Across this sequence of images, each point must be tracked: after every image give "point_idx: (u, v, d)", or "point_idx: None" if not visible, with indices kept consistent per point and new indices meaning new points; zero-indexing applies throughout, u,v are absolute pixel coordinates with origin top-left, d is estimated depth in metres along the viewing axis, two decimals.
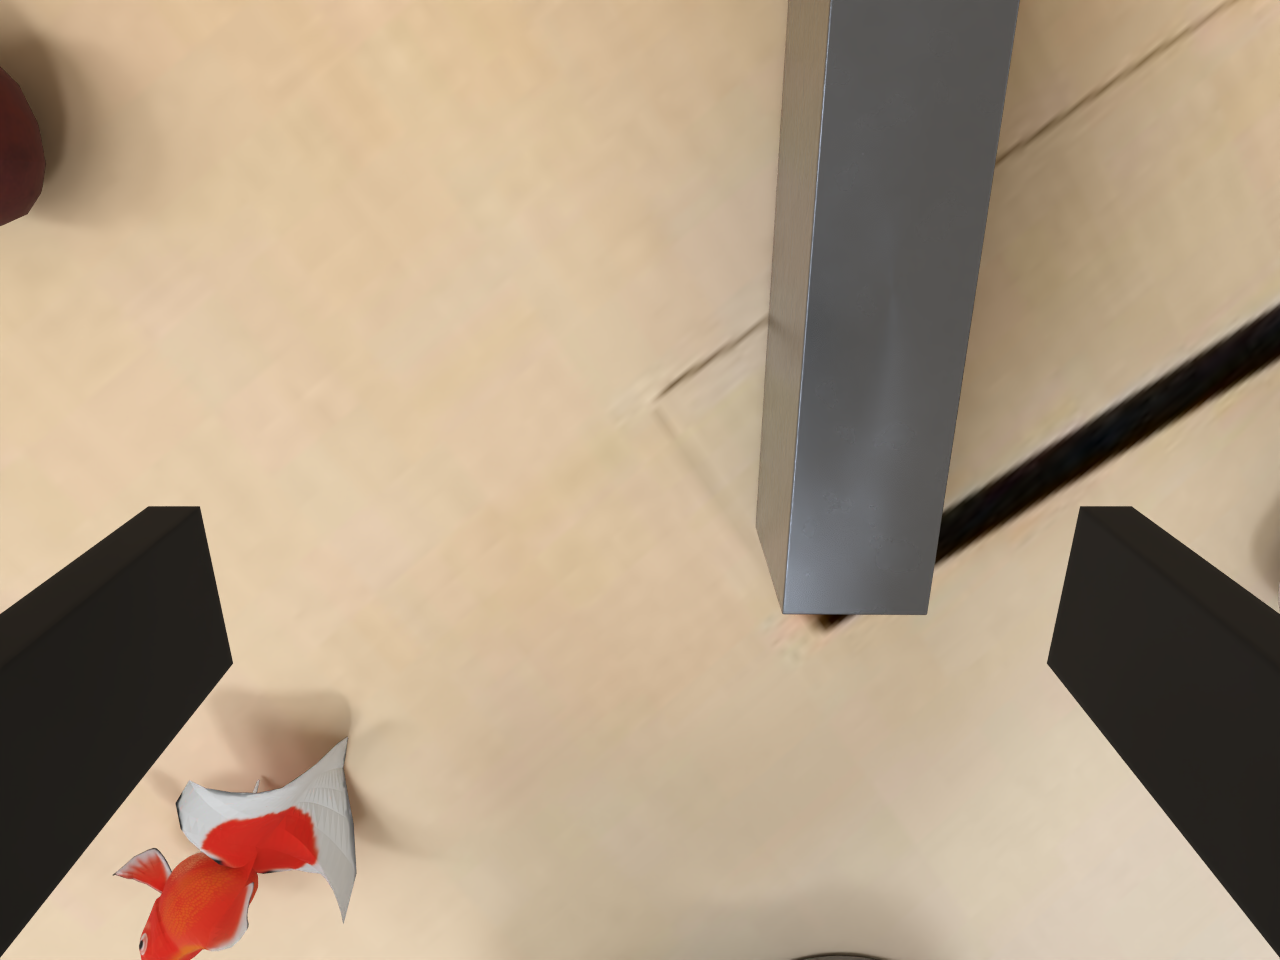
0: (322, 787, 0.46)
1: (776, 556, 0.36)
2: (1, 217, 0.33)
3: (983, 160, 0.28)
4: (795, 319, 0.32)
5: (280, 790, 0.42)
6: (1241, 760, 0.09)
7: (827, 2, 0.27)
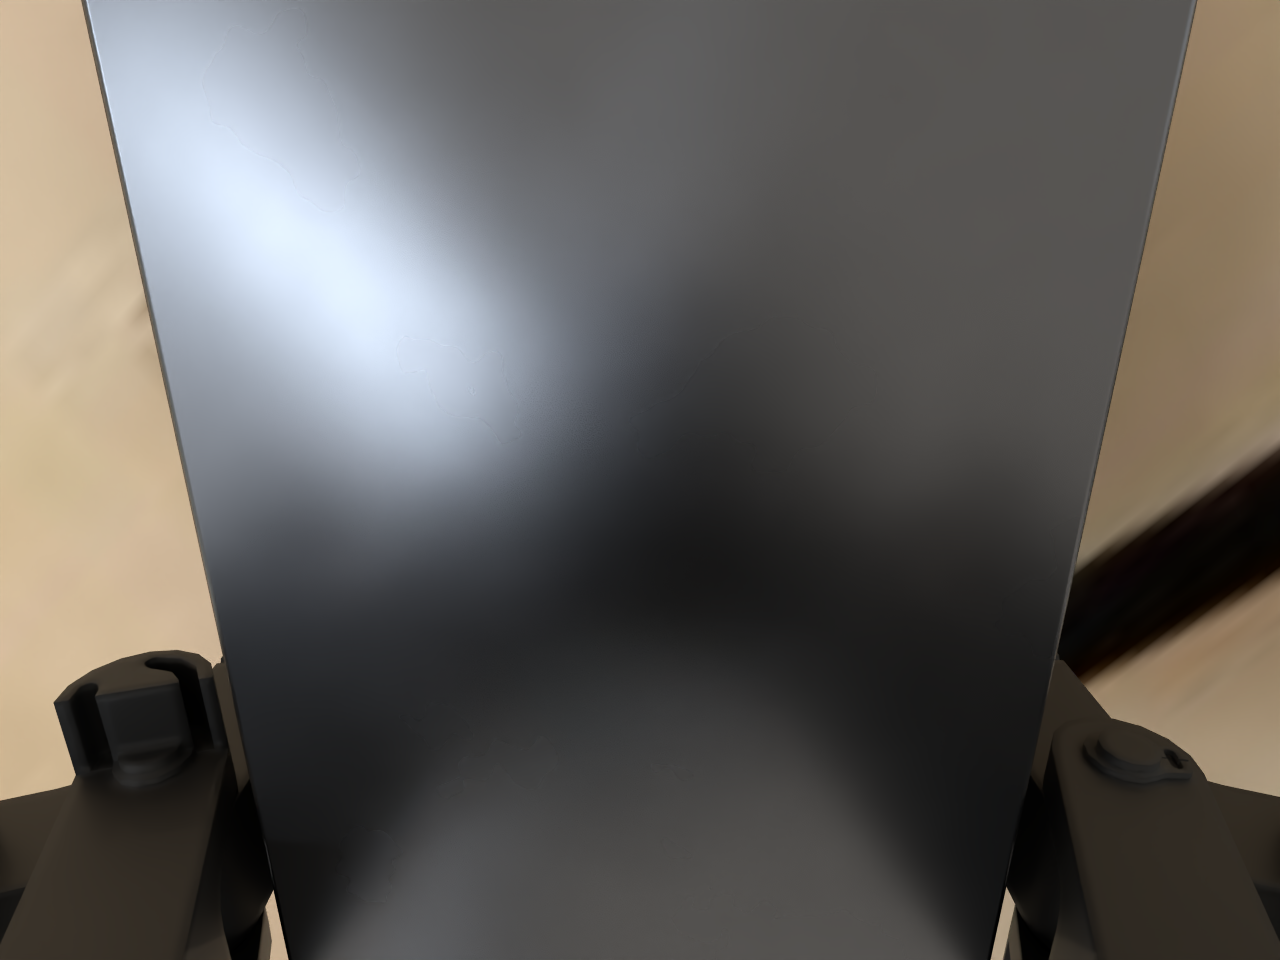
0: None
1: None
2: None
3: None
4: None
5: None
6: None
7: None
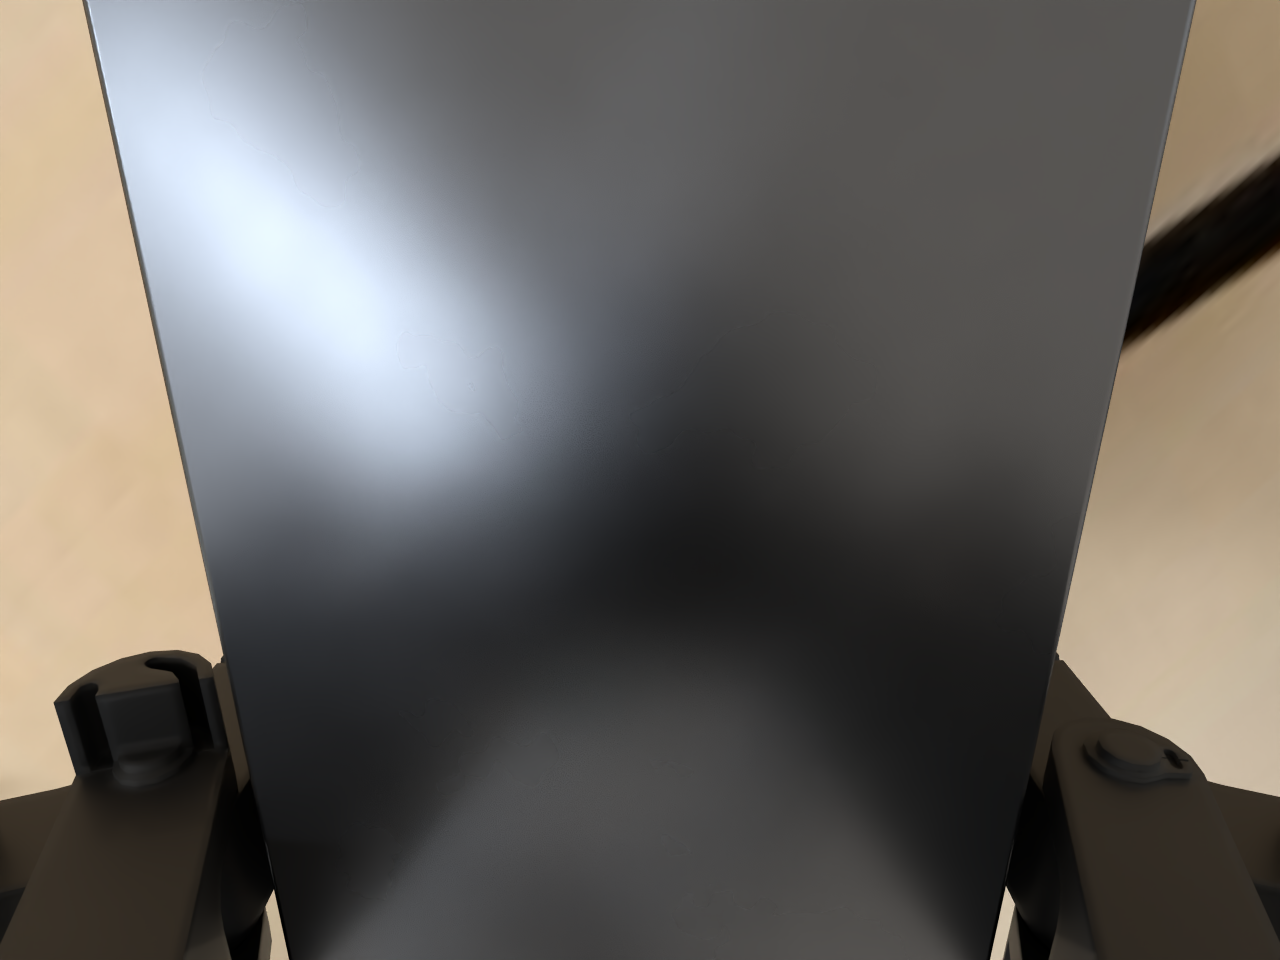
0: None
1: None
2: None
3: None
4: None
5: None
6: None
7: None
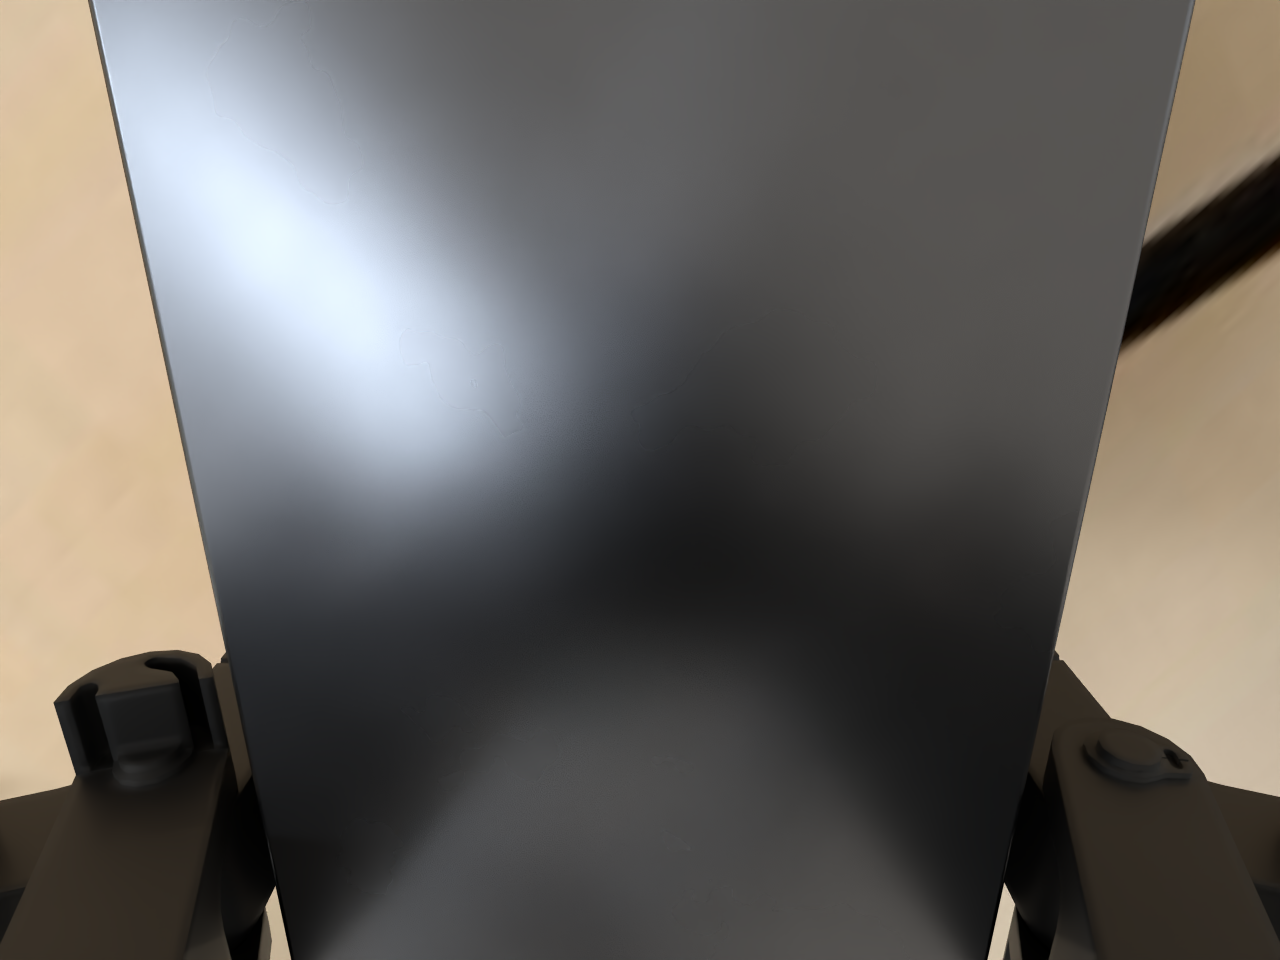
0: None
1: None
2: None
3: None
4: None
5: None
6: None
7: None
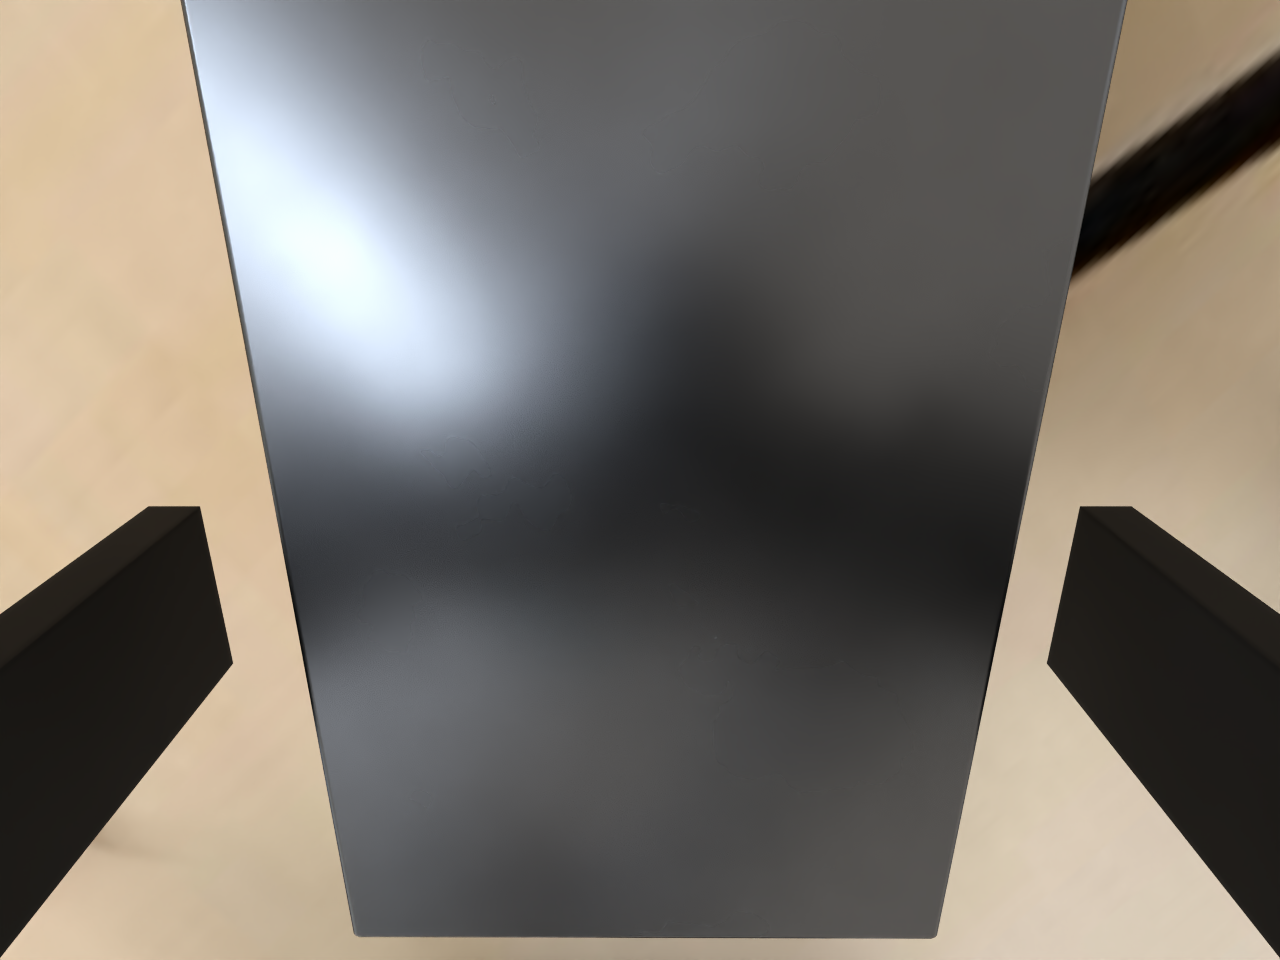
0: None
1: None
2: None
3: None
4: None
5: None
6: (1241, 760, 0.09)
7: None
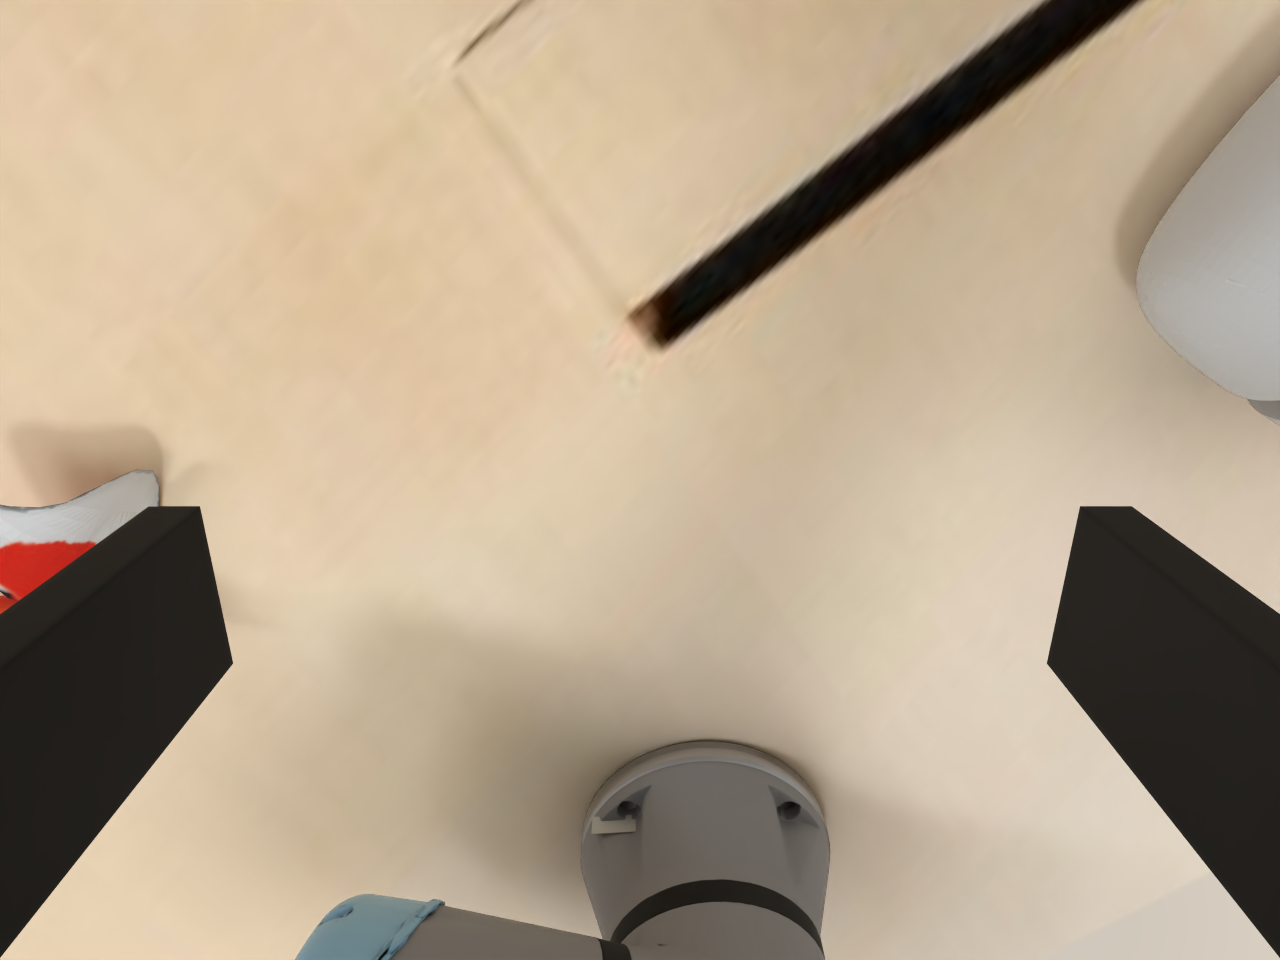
0: None
1: None
2: None
3: None
4: None
5: (65, 508, 0.39)
6: (1241, 761, 0.09)
7: None
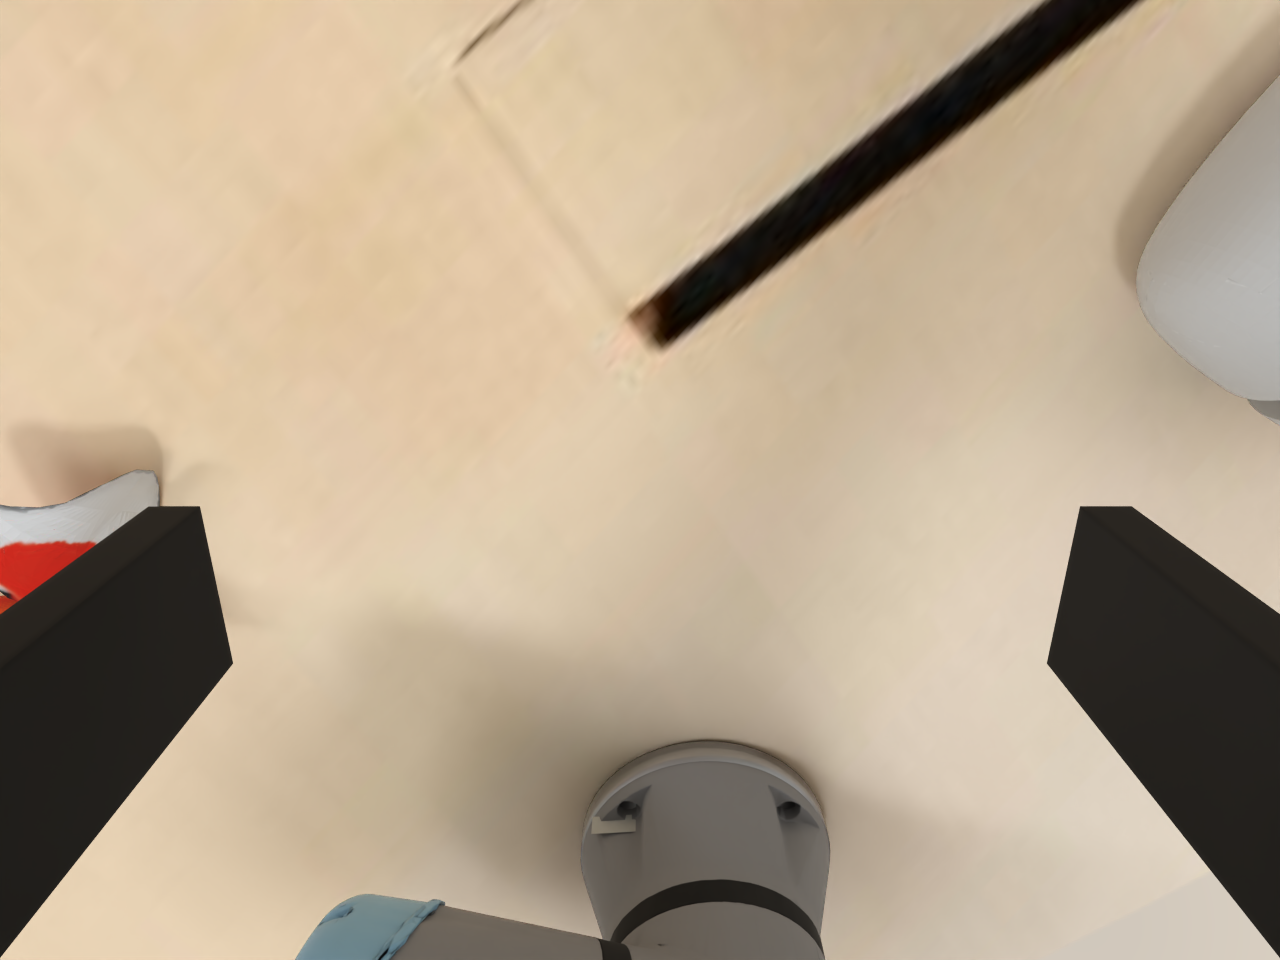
0: None
1: None
2: None
3: None
4: None
5: (65, 508, 0.39)
6: (1241, 761, 0.09)
7: None
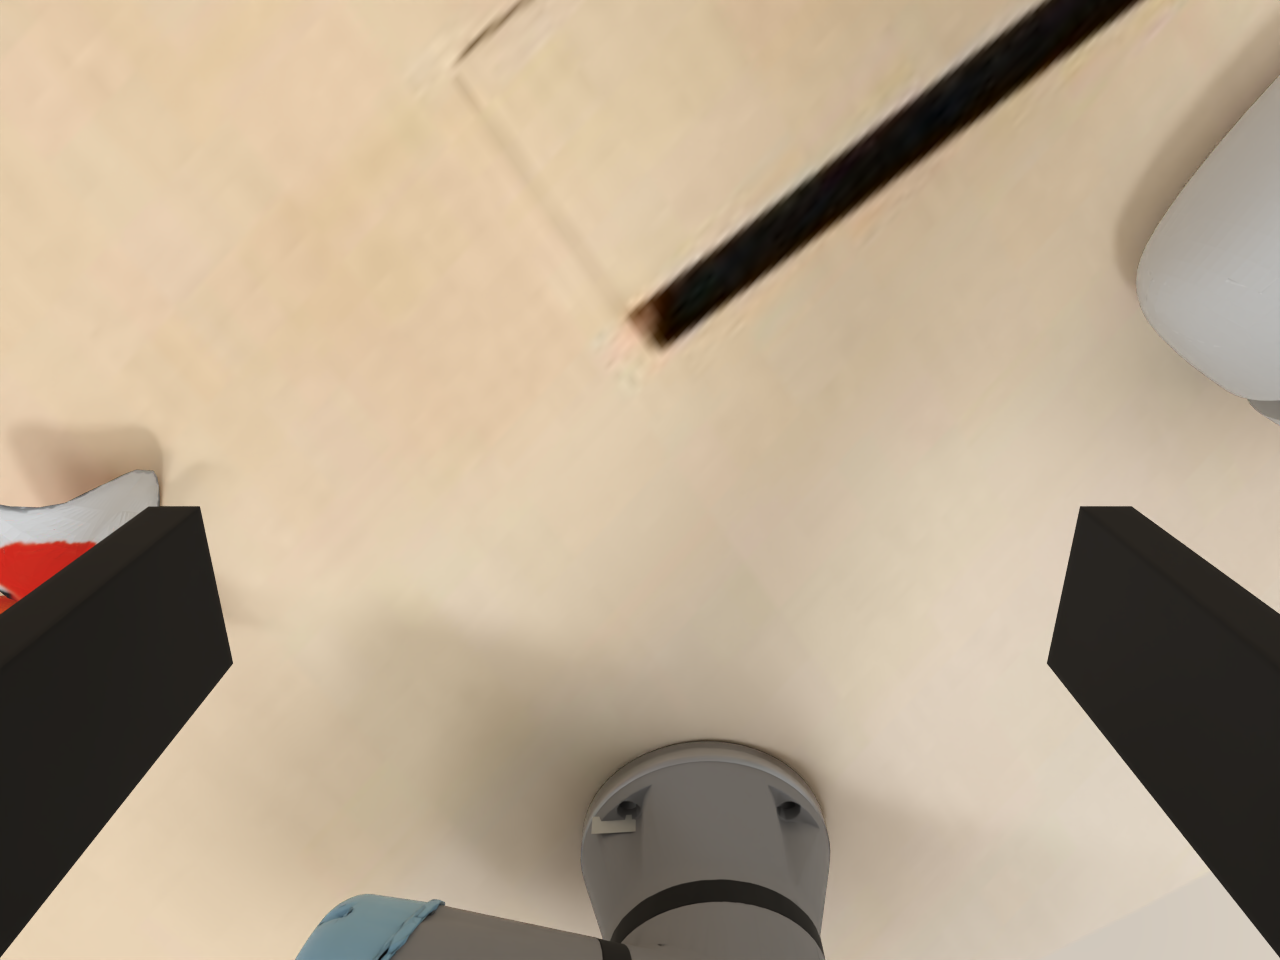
0: None
1: None
2: None
3: None
4: None
5: (65, 508, 0.39)
6: (1241, 761, 0.09)
7: None
